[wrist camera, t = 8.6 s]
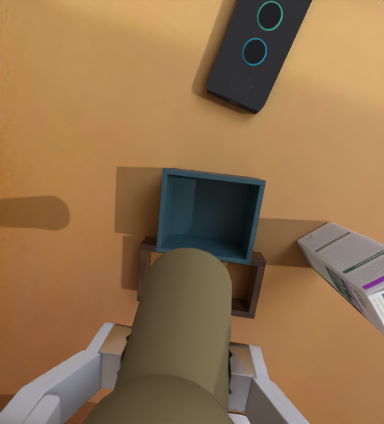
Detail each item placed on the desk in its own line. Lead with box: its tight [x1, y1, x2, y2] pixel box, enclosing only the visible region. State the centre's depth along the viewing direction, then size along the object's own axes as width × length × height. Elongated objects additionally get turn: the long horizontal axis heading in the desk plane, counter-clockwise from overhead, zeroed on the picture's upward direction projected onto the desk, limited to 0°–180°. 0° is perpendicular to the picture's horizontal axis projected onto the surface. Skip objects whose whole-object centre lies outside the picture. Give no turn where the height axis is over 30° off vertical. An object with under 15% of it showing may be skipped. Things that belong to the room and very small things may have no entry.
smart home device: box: [207, 0, 312, 114], centre depth 25 cm, size 8×2×20 cm
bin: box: [156, 168, 266, 265], centre depth 29 cm, size 11×12×7 cm
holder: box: [137, 237, 266, 319], centre depth 33 cm, size 10×19×3 cm, turn 83°
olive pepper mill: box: [82, 248, 235, 424], centre depth 9 cm, size 6×6×11 cm
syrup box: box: [297, 222, 384, 335], centre depth 25 cm, size 6×6×14 cm
